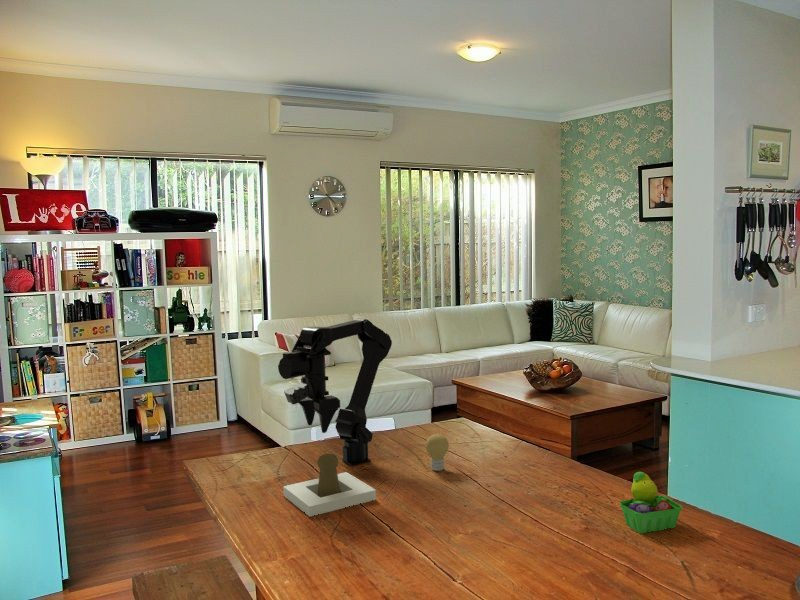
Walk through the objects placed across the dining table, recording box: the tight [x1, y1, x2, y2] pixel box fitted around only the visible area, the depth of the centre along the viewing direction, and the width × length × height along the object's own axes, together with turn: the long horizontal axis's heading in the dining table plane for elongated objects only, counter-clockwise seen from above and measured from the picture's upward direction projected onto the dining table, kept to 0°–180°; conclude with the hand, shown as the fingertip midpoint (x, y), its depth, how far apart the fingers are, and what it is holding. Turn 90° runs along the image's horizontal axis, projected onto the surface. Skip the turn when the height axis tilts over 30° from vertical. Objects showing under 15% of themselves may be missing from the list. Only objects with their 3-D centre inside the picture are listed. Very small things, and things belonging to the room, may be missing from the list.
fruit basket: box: [619, 471, 683, 534], centre depth 149 cm, size 11×9×11 cm
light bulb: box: [425, 433, 450, 472], centre depth 188 cm, size 6×6×10 cm
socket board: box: [282, 471, 377, 518], centre depth 170 cm, size 18×16×2 cm
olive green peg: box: [316, 453, 341, 498], centre depth 170 cm, size 6×6×11 cm
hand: (316, 428), depth 186 cm, fingers open, 9 cm apart
